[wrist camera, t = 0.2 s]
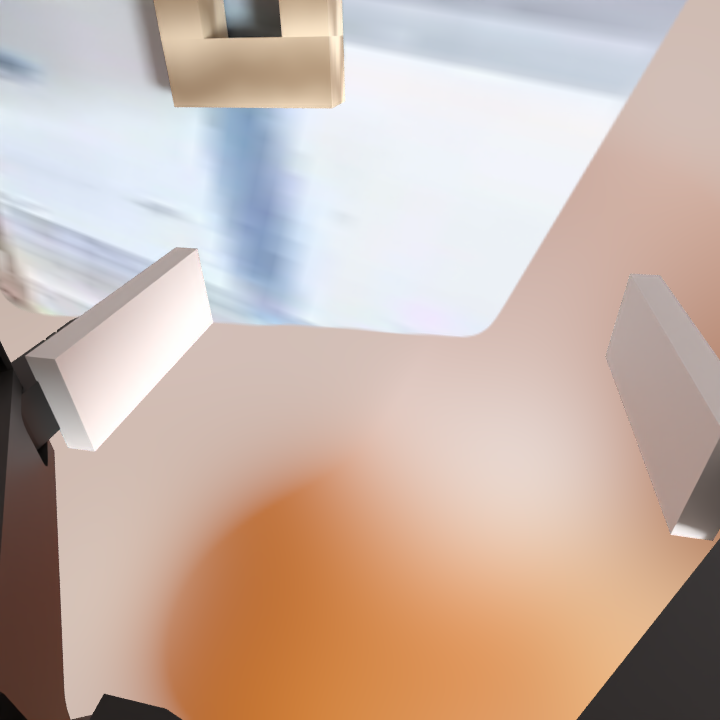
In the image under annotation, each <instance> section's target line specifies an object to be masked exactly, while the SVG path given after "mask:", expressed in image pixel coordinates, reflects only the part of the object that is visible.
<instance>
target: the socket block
mask: <svg viewBox="0 0 720 720" xmlns="http://www.w3.org/2000/svg"><path fill="white" fill-rule="evenodd" d="M153 1H154V6H155V11H156V16H157V21H158V26H159V31H160V36H161V41H162V46H163V51H164V56H165V61H166V66H167V71H168V76H169V81H170V86H171V91H172V96H173V101H174V106H175V107H232V108H333V107H335V106H337V105H339V104H341V103H343V102H345V83H344V50H343V17H342V0H279V8H280V20H281V31H282V37H242V38H228V32H227V24H226V17H225V10H224V2H223V0H153Z"/></svg>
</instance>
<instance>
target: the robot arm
mask: <svg viewBox="0 0 720 720" xmlns="http://www.w3.org/2000/svg"><path fill="white" fill-rule="evenodd" d="M212 323H213V320H212V316H211V311H210V306H209V301H208V297H207V292H206V287H205V283H204V278H203V273H202V268H201V264H200V259H199V254H198V250H197V249H195V248H178V247H176V248H174V249H173V250H172V251H170V252H169V253H167V254H166V255H165V256H163V257H162V258H160V259H159V260H158V261H156V262H155V263H154V264H152V265H151V266H149V267H148V268H147V269H145V270H144V271H142V272H141V273H140V274H138V275H137V276H135V277H134V278H133V279H131V280H130V281H128V282H127V283H126V284H124V285H123V286H122V287H120V288H119V289H117V290H116V291H115V292H113V293H112V294H110V295H109V296H108V297H106V298H105V299H103V300H102V301H101V302H99V303H98V304H96V305H95V306H94V307H92V308H91V309H90V310H88V311H87V312H85V313H84V314H83V315H81V316H80V317H78V318H75V319H73V320H71V321H69V322H68V323H66V324H65V325H64V326H62V327H61V328H60V329H58V330H57V332H54V333H52V334H51V335H50V336H48V337H47V338H46V340H43V341H41V342H40V343H39V344H37V345H36V346H34V347H33V348H32V349H30V350H29V351H27V352H26V353H24V354H23V355H22V356H20V357H19V358H17V359H16V360H15V361H13V362H12V363H11V362H10V360H9V358H8V356H7V354H6V352H5V350H4V348H3V346H2V344H1V342H0V720H70V717H69V714H68V711H67V707H66V702H65V694H64V676H63V675H64V674H63V650H62V627H61V604H60V603H61V602H60V577H59V555H58V529H57V506H56V481H55V457H54V450H53V447H52V445H51V443H50V441H49V439H50V438H51V437H52V436H53V435H54V434H55V433H56V432H57V431H58V430H60V432H61V433H62V436H63V438H64V440H65V442H66V444H67V446H68V448H74V449H80V450H88V451H96V450H97V449H98V448H99V447H100V445H101V444H102V443H103V442H104V441H105V440H106V439H107V438H108V437H109V436H110V434H111V433H112V432H113V431H114V430H115V429H116V428H117V427H118V426H119V425H120V423H121V422H122V421H123V420H124V419H125V418H126V417H127V416H128V415H129V414H130V413H131V412H132V410H133V409H134V408H135V407H136V406H137V405H138V404H139V403H140V402H141V401H142V400H143V398H144V397H145V396H146V395H147V394H148V393H149V392H150V391H151V390H152V388H153V387H154V386H155V385H156V384H157V383H158V382H159V381H160V380H161V379H162V378H163V376H164V375H165V374H166V373H167V372H168V371H169V370H170V369H171V368H172V366H174V364H175V363H176V362H177V361H178V360H179V359H180V358H181V357H182V355H184V354H185V352H186V351H187V350H188V349H189V348H190V347H191V346H192V345H193V344H194V342H196V340H197V339H198V338H199V337H200V336H201V335H202V334H203V333H204V332H205V331H206V330H207V328H208V327H209V326H210V325H211V324H212ZM606 359H607V362H608V365H609V367H610V370H611V373H612V375H613V378H614V381H615V384H616V386H617V389H618V392H619V395H620V397H621V400H622V403H623V406H624V408H625V411H626V414H627V416H628V419H629V422H630V425H631V427H632V430H633V433H634V436H635V438H636V441H637V444H638V447H639V449H640V452H641V455H642V457H643V460H644V463H645V466H646V468H647V471H648V474H649V477H650V479H651V482H652V485H653V487H654V490H655V493H656V496H657V498H658V501H659V504H660V507H661V509H662V512H663V515H664V517H665V520H666V523H667V526H668V528H669V531H670V534H671V535H677V536H684V537H691V538H698V539H705V540H712V541H713V540H714V538H715V536H716V534H717V533H718V531H719V529H720V360H719V359H718V357H717V356H716V354H715V353H714V351H713V350H712V349H711V347H710V346H709V344H708V343H707V341H706V340H705V339H704V337H703V336H702V334H701V333H700V332H699V330H698V329H697V327H696V326H695V324H694V323H693V322H692V320H691V319H690V317H689V316H688V314H687V313H686V312H685V310H684V309H683V308H682V306H681V305H680V303H679V302H678V300H677V299H676V298H675V296H674V295H673V293H672V292H671V290H670V289H669V287H668V286H667V285H666V283H665V282H664V280H663V279H662V277H661V276H659V275H643V274H630V276H629V279H628V283H627V286H626V290H625V293H624V296H623V300H622V303H621V306H620V310H619V313H618V316H617V320H616V323H615V326H614V330H613V333H612V336H611V340H610V343H609V346H608V350H607V353H606ZM72 720H182V719H180V718H179V717H177V716H176V715H174V714H173V713H171V712H170V711H169V710H167V709H165V708H160V707H156V706H152V705H148V704H144V703H140V702H136V701H132V700H128V699H124V698H119V697H115V696H111V695H107V694H104V695H103V697H102V698H101V700H100V702H99V704H98V705H97V707H96V709H95V711H94V712H93V714H92V715H90V716H85V717H81V718H76V719H72ZM577 720H720V539H719V540H718V542H717V543H716V544H715V545H714V547H713V548H712V549H711V550H710V552H709V553H708V554H707V555H706V557H705V558H704V559H703V561H702V562H701V563H700V564H699V566H698V567H697V568H696V569H695V571H694V572H693V573H692V574H691V576H690V577H689V578H688V580H687V581H686V582H685V583H684V585H683V586H682V587H681V588H680V590H679V591H678V592H677V593H676V595H675V596H674V597H673V598H672V600H671V601H670V602H669V604H668V605H667V606H666V607H665V609H664V610H663V611H662V612H661V614H660V615H659V616H658V618H657V619H656V620H655V621H654V623H653V624H652V625H651V626H650V628H649V629H648V630H647V631H646V633H645V634H644V635H643V636H642V638H641V639H640V640H639V641H638V643H637V644H636V645H635V646H634V648H633V649H632V650H631V652H630V653H629V654H628V655H627V657H626V658H625V659H624V661H623V662H622V663H621V664H620V665H619V667H618V668H617V669H616V671H615V672H614V673H613V675H612V676H611V677H610V678H609V679H608V681H607V682H606V683H605V684H604V686H603V687H602V688H601V690H600V691H599V692H598V693H597V695H596V696H595V697H594V698H593V700H592V701H591V702H590V704H589V705H588V706H587V707H586V709H585V710H584V711H583V712H582V713H581V715H580V716H579V717H578V719H577Z"/></svg>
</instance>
